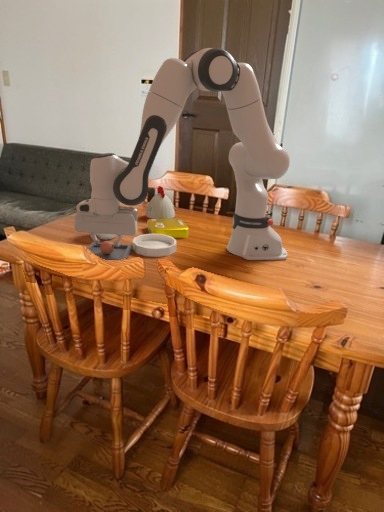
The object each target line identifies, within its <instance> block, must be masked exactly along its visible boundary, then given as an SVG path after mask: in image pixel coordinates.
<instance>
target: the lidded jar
mask: <svg viewBox="0 0 384 512" xmlns="http://www.w3.org/2000/svg"><path fill="white" fill-rule="evenodd" d="M95 236H96V237H97V238H98V239H100V240H105V241H108V240H112V239H114V238H115V237H116V236H117V235H115V234H100V233H96V235H95Z"/></svg>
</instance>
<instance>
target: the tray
mask: <svg viewBox="0 0 384 512" xmlns="http://www.w3.org/2000/svg"><path fill="white" fill-rule="evenodd" d="M102 243H103V242H100V245H101V244H102ZM112 244H113V245H115V244H114V243H112ZM100 245H99V246H98V245H94V241H93V242H91V244H90V245H89V246H88V247H87V248H88V249H89V250H91V251H92V252H93V253H94V254H95V255H97V256H99V257H100V258H102V259H105V260H121V259H124V258H127V257H128V258H129V256H130V254H131V252H132V250H133V248H132V244H123V243H120V245H119V247H114V250H113V252H112V253H111V254H108V255H106V254H103V253H102V252H101V250H100ZM128 258H127V259H128Z"/></svg>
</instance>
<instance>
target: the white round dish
mask: <svg viewBox="0 0 384 512" xmlns="http://www.w3.org/2000/svg"><path fill="white" fill-rule="evenodd" d="M132 250H133V251H134V252H135V254H137V255H141V256H144V257H151V258H154V257H155V258H160V257H168V256H171V255H173V254H175V253H176V251H177V239H174V238H173V237H171V236H167V235H162V234H150V233H146V234H145V233H144V234H140V235H138V236H135V237H134V238H133V240H132Z"/></svg>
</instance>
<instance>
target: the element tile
mask: <svg viewBox="0 0 384 512" xmlns="http://www.w3.org/2000/svg"><path fill="white" fill-rule="evenodd" d="M146 222H147V226H146V229H147V231H148V234H162V235H167V236H171V237H173V238H174V239H175V240H177V239H187V238H189V232H190V231H189V230H190V227H189V226H188V225H187V224H186V223H185V222H184V221H183V220H182V219H181V218H178V217H175V218H172V219H149V220H146Z"/></svg>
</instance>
